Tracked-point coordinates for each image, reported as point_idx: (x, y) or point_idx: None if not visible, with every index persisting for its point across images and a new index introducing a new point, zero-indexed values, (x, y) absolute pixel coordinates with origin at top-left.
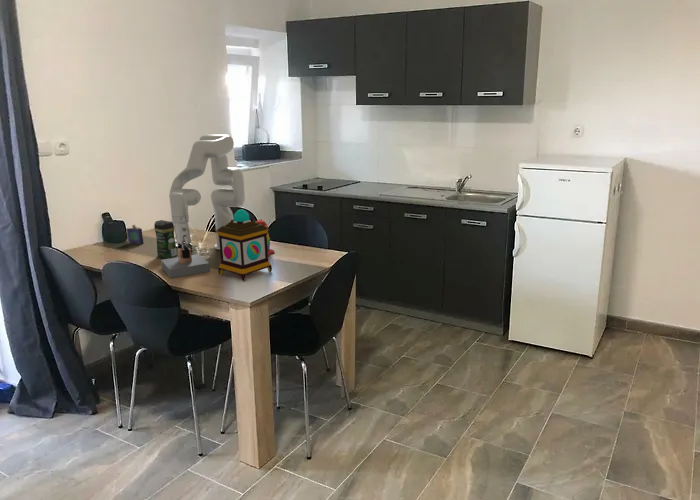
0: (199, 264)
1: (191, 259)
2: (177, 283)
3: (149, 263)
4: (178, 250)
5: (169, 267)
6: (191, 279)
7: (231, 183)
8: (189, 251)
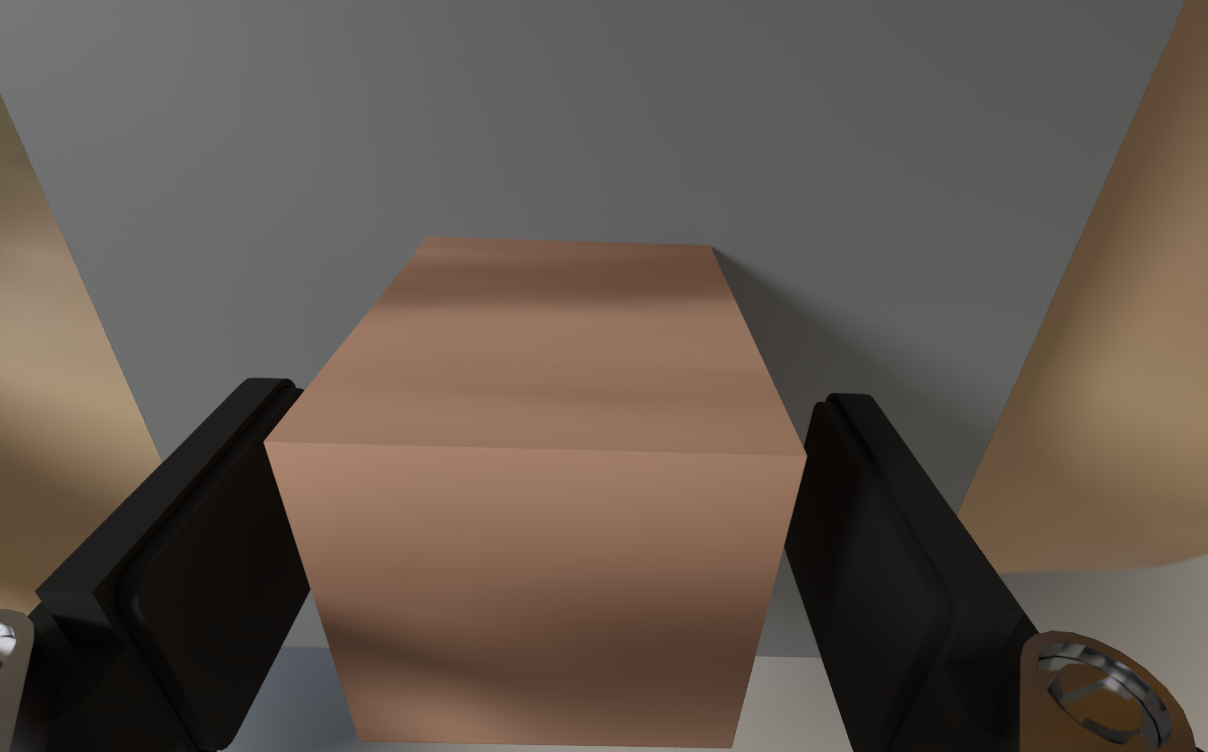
0: (1093, 148)
1: (718, 275)
2: (1118, 538)
3: (15, 599)
4: (526, 718)
5: (774, 642)
6: (1157, 361)
7: None
8: (960, 526)
